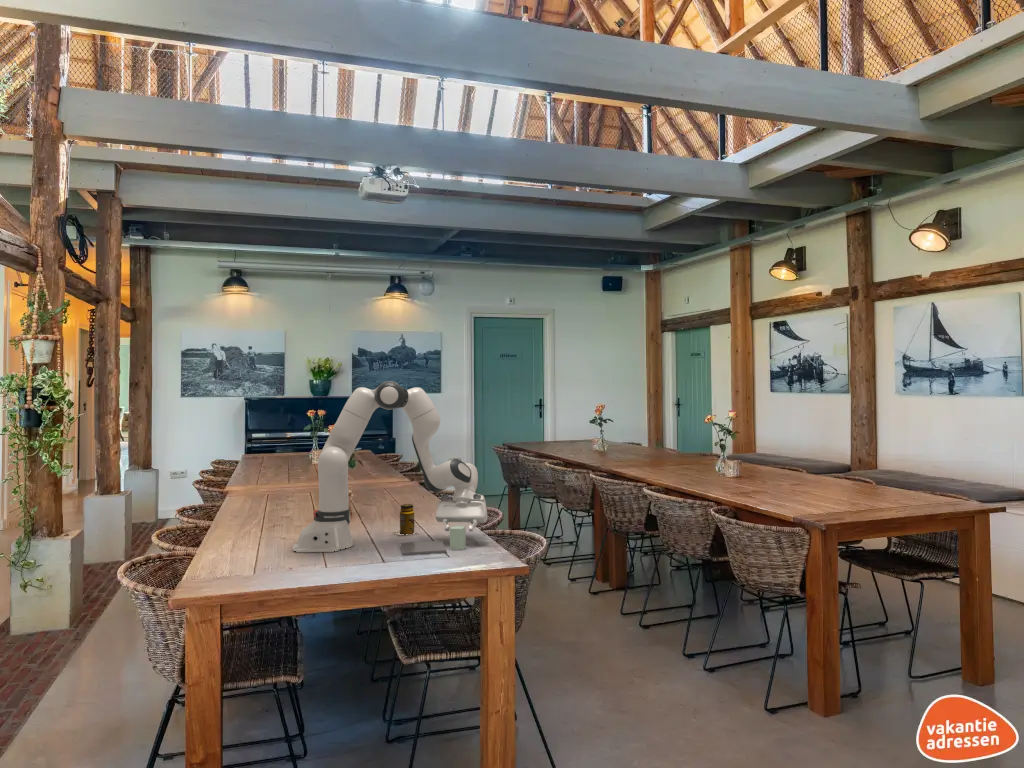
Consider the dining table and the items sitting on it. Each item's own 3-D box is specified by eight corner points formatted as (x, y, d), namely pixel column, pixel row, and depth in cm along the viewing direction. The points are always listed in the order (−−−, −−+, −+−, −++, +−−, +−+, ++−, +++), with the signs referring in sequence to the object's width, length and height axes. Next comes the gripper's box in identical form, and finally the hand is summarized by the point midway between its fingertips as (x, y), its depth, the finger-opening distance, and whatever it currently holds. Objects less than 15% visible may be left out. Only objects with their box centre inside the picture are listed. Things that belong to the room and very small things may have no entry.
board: (402, 555, 251) (402, 552, 251) (400, 545, 267) (400, 543, 267) (446, 552, 254) (446, 550, 254) (441, 543, 270) (441, 540, 270)
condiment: (418, 534, 287) (417, 505, 287) (399, 536, 282) (399, 507, 282) (410, 531, 293) (410, 502, 293) (392, 533, 288) (391, 505, 288)
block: (449, 549, 259) (449, 528, 259) (452, 546, 264) (452, 525, 264) (462, 550, 258) (462, 528, 258) (465, 547, 263) (465, 526, 263)
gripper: (436, 495, 272) (430, 525, 262) (487, 496, 269) (483, 526, 259) (439, 504, 276) (433, 534, 267) (489, 505, 274) (485, 535, 264)
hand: (458, 530), depth 263 cm, fingers open, 8 cm apart
